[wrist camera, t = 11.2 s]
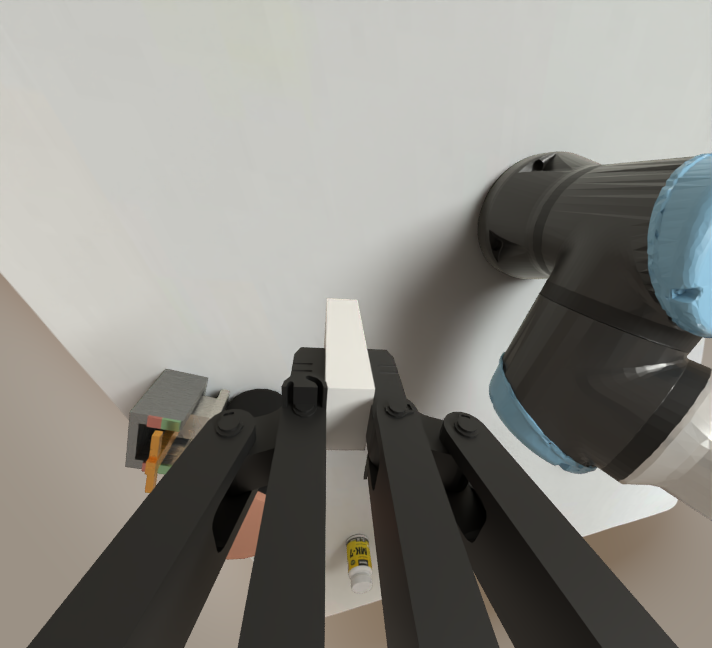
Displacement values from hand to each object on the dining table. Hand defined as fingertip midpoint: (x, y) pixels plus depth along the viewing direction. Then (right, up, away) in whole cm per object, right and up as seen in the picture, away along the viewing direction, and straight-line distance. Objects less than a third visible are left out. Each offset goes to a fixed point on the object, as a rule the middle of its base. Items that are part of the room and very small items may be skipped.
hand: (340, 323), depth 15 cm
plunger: (-22, -13, +29) cm, 38 cm away
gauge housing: (-25, -11, +30) cm, 40 cm away
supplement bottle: (+1, -46, +49) cm, 68 cm away
